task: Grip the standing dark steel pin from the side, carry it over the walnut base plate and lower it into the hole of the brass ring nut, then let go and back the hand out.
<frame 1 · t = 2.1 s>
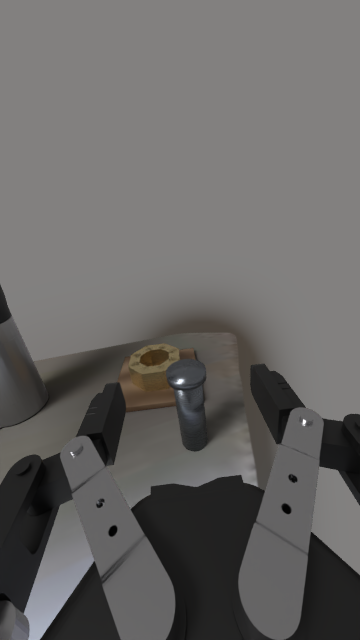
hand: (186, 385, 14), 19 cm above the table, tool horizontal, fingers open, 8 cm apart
steel pin: (194, 439, 32), on the table
nut base: (158, 378, 45), on the table
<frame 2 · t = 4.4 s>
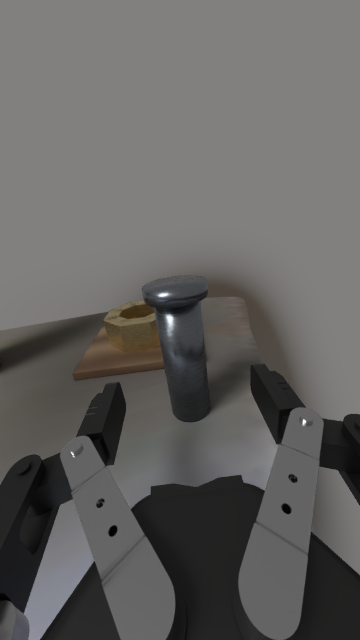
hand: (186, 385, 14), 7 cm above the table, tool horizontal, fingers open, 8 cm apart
steel pin: (191, 406, 21), on the table
nut base: (145, 340, 35), on the table
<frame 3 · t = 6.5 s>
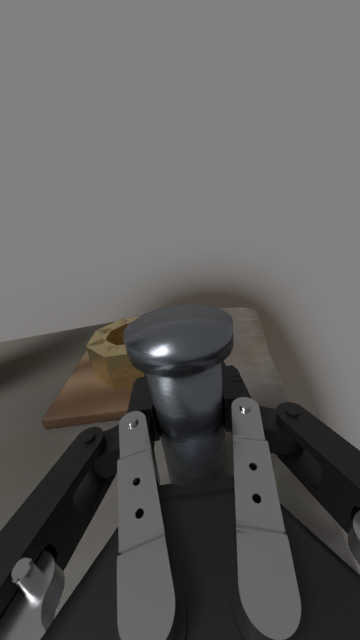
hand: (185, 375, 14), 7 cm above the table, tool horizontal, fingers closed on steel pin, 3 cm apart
steel pin: (200, 488, 15), on the table, touching gripper
nut base: (139, 367, 28), on the table
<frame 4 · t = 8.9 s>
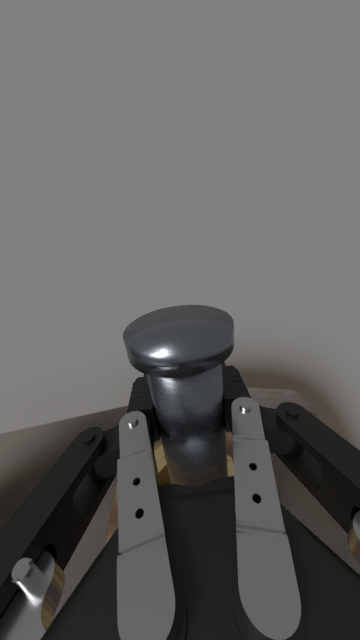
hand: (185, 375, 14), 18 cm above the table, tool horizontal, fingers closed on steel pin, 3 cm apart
steel pin: (200, 488, 15), point 11 cm above the table, touching gripper
nut base: (191, 515, 22), on the table
when the fingers open (10 cm above the table, at t = 11.1 s): steel pin drops 2 cm, resting on nut base.
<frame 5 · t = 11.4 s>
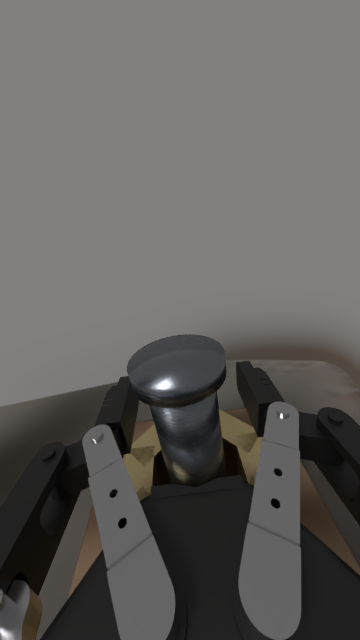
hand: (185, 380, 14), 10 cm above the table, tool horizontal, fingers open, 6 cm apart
steel pin: (203, 506, 15), point 1 cm above the table, touching nut base
nut base: (203, 514, 16), on the table
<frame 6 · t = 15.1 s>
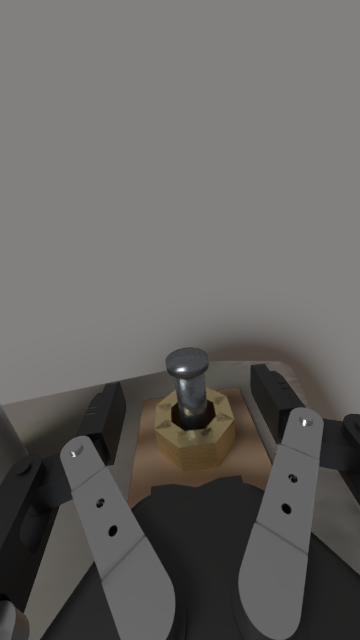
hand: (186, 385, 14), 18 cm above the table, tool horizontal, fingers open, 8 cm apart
steel pin: (196, 434, 30), point 1 cm above the table, touching nut base
nut base: (196, 439, 30), on the table
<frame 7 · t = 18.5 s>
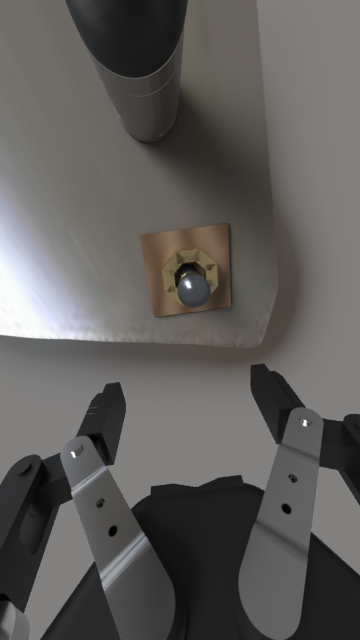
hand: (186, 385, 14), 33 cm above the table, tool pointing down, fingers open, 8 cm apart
steel pin: (188, 274, 43), point 1 cm above the table, touching nut base
nut base: (188, 272, 44), on the table
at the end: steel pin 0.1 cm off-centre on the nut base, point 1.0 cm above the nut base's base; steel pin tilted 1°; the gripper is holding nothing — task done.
